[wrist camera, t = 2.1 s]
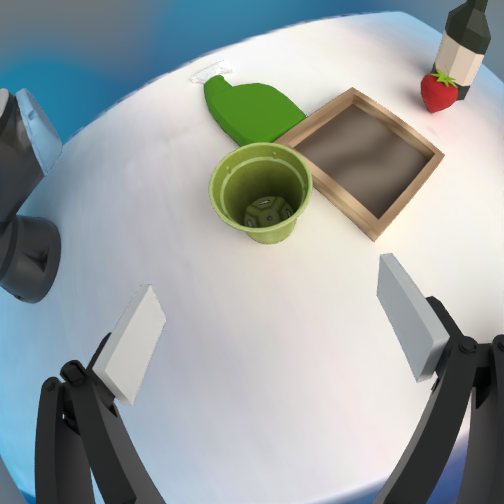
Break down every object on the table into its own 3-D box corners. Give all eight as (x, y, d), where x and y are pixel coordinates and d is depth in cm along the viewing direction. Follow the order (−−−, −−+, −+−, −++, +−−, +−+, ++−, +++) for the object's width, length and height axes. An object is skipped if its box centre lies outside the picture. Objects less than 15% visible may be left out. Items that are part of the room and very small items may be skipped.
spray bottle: (251, 164, 35) (182, 89, 44) (315, 128, 36) (231, 64, 44) (247, 151, 32) (176, 78, 41) (315, 114, 33) (227, 52, 41)
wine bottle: (467, 92, 34) (509, -16, 6) (458, 106, 33) (506, -18, 5) (435, 69, 37) (464, -42, 8) (423, 81, 36) (454, -47, 7)
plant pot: (242, 270, 31) (222, 246, 23) (221, 200, 34) (199, 160, 26) (320, 243, 30) (329, 210, 22) (292, 176, 33) (289, 131, 25)
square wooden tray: (274, 154, 35) (272, 142, 32) (350, 98, 36) (352, 87, 34) (374, 242, 29) (380, 234, 27) (438, 164, 31) (445, 155, 28)
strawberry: (405, 102, 35) (419, 57, 25) (432, 97, 34) (448, 57, 25) (427, 127, 33) (447, 82, 23) (453, 120, 32) (473, 80, 23)
